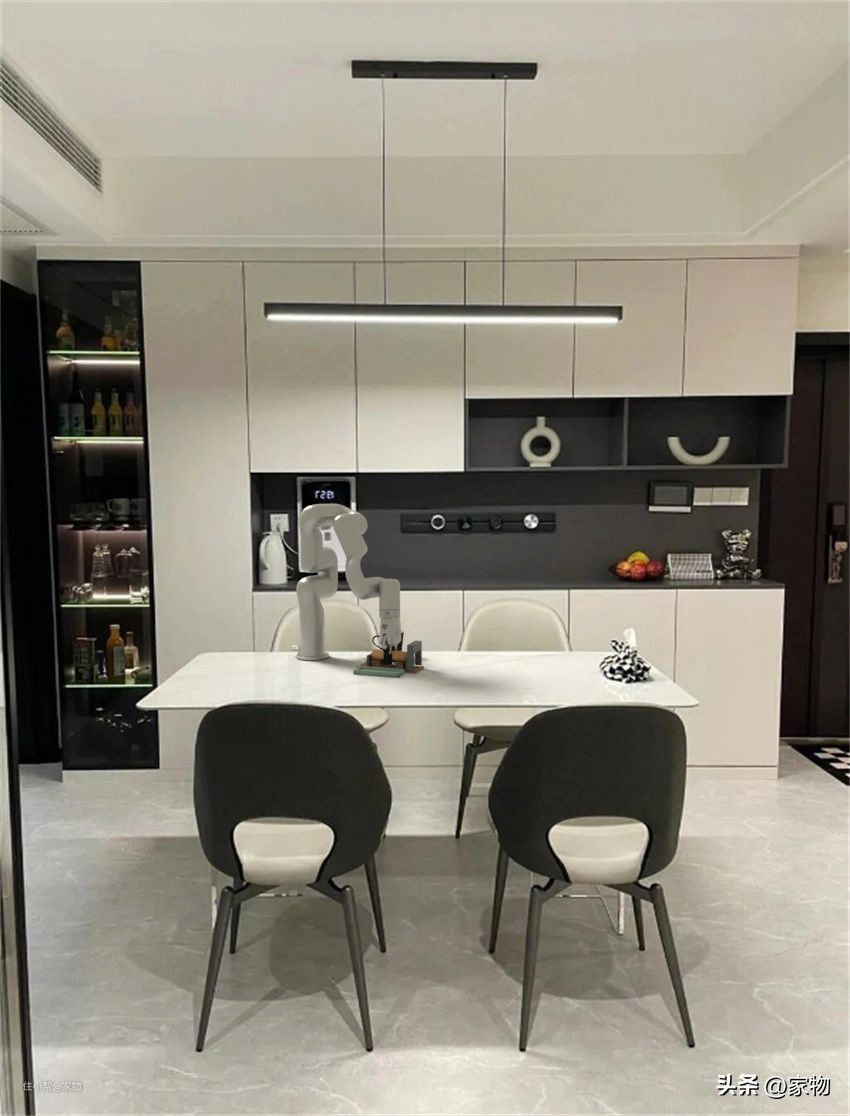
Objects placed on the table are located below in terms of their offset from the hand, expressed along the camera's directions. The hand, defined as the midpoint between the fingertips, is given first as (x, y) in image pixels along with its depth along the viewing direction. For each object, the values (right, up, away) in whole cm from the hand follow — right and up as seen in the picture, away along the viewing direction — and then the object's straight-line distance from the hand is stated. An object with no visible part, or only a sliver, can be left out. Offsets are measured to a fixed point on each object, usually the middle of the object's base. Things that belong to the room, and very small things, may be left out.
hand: (390, 662), depth 283 cm
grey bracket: (+9, -1, -3) cm, 9 cm away
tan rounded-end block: (0, +1, 0) cm, 1 cm away
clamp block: (0, -2, 0) cm, 2 cm away
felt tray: (-4, -3, -7) cm, 8 cm away
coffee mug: (-1, -1, +21) cm, 21 cm away
